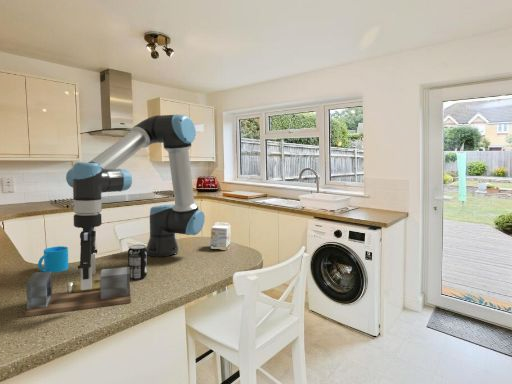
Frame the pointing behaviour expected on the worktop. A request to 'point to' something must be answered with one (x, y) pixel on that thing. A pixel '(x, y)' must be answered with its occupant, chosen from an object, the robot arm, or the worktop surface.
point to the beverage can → (137, 261)
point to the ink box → (220, 234)
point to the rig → (45, 302)
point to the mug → (54, 259)
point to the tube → (76, 287)
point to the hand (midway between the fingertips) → (88, 280)
